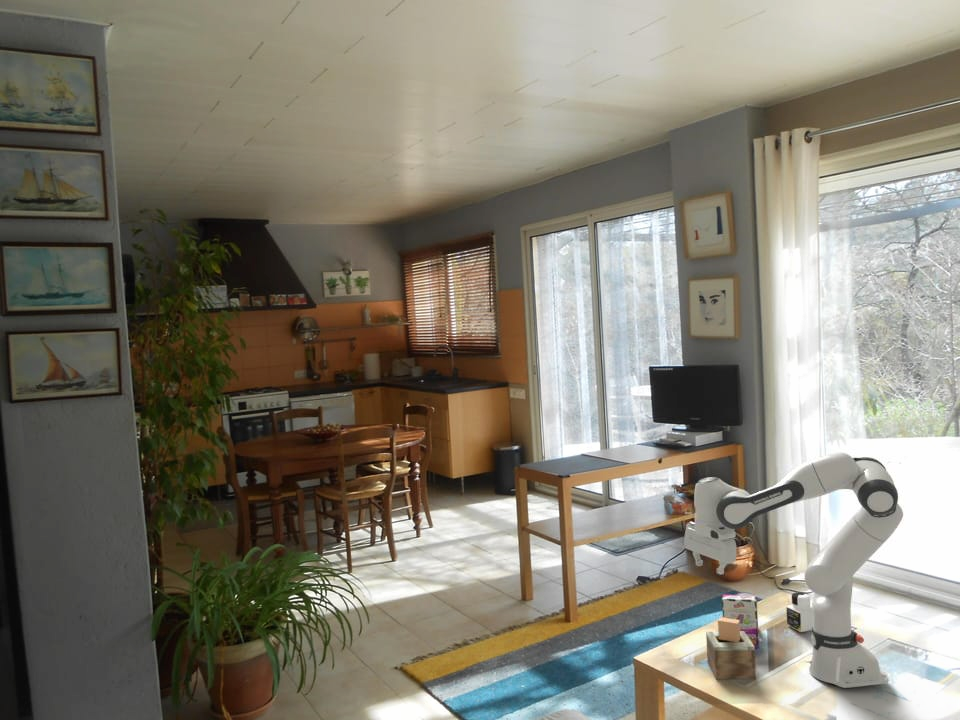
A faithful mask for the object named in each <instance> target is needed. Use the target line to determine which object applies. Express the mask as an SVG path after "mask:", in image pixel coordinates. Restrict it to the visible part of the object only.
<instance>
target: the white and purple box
mask: <svg viewBox="0 0 960 720" xmlns="http://www.w3.org/2000/svg"><path fill="white" fill-rule="evenodd" d="M736 595H745V596H756V594H754V593H753V592H748V591H743V592H742V591H741V592H738V593H736ZM756 605H757V606H758V601H757V599H756ZM758 615H759V614H758V613H757V622H758V623H759V617H758Z"/></svg>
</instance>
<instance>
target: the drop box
mask: <svg viewBox="0 0 960 720" xmlns="http://www.w3.org/2000/svg"><path fill="white" fill-rule="evenodd" d="M705 632H706V633H705V636H706V639H705V640H706V656H707V657H706V658H707V664H708V666H709V668H710V670H711V673H712V675H713V676H714V678H715V680H754V679H755V680H756V679H757V678H756V677H757V676H756V675H757V674H756V673H757V670H756V651H755V649H756V648H755V647H754V645H753V644H752V642H751V641H750V639H749V638H748V636H747V635H746V633H745V632H744V631H740V638H741V639H740V641H739V642H732V641H726V640H720V639H719V633H718V630H717V631H705Z"/></svg>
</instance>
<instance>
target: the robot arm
mask: <svg viewBox="0 0 960 720" xmlns="http://www.w3.org/2000/svg"><path fill="white" fill-rule="evenodd" d="M886 468H887V467H885V465H884V464H883V463H882V462H881V461H879V460H878V459H876V458H873V457H868V456H867V457H866V456H863V457H852V456H851V455H850V454H848V453H845V452H837V453H836V452H835V453H831V454H830V453H829V454H827V455H822V456H818V457H815V458H812V459H809V460H807V461H806V460H805V461H804V462H801V463H799V464H797V465H796V466H794V467H793V468H791V469H789V471H788V472H787V474H786V475H785V476H784V477H783V478H782V479H781V480H780V481H779V482H778V483H776V484H775V485H772V486H771V487H768V488H766V489H763V490H760V491H758V492H754V493H752V494H750V492H749V491H747V490H745V489H743V488H739V487H735V486H732V485H729V484H728V483H726V482H724V481H723V480H722V479H721V478H719V477H717V476H716V477H715V476H710V477H709V476H708V477H704V478H701V479H699V480H698V481H697V482H696V483H695V486H694V494H693V495H694V496H693V499H694V501H693V504H694V505H693V506H694V509H695V513H694V522H693V521H688V522H687V523H686V524H685V532H684V541H683V544H684V547H685V549H686V550H689V551H691V552H692V555H693V558H694V560H695V565H696V566H697V567H701V566H703V563H704V560H702V558H701V555H702V556H705V557H708V558H710V559H713V560H715V561H718V564H719V566H718V567H716V574H718V575H724V574H725V567H726V566H727V565H729V564H733V563H735V562H736V561H737V543H736V540H735V539H734V538H736V536H737V535H736V531H735V530H741V529H743V528H745V527H746V526H748V525H749V523H750V522H751V521H753V519H755V518H756V517H758V516H759V517H760V516H761V515H764V514H766V513H769V512H772V511H774V510H776V509H778V508H781V507H784V506H788V505H790V504H794V503H799V502H802V501H805V500H811V499H814V498H819V497H822V496H825V495H829V494H831V493H834V492H836V491H840V490H850V491H851V490H852V491H853V493H854V494H855V495H856V498H857V500H858V503H859V504H860V505H861V507H860V509H859V510H858V511H857V512H856V513H854V515H853V516H852V517H851V518H850V519H849V520H848V522H846V524H845V525H844V526H843V527H841V529H840V530H839V531H838V532H837V533H836V534H835V535H834V536H833V538H831V539H830V541H829V542H827V543H826V545H825V546H824V547H823V548H822V549H821V550H820V551H819V552H818V553H817V554H816V555H815V556H814V557H813V558H812V559H811V560H810V562H809V563H808V565H807V566H806V569H805V571H804V582H805V584H806V586H807V588H808V589H809V590H810V591H811V592H813V593H814V594H813V599H812V605H811V607H812V612H813V627H812V630H811V644H812V655H811V660H810V661H811V662H810V666H809V669H808V672H809V674H810V675H811V676H813V677H814V679H817V680H819V681H823V682H825V683H829V684H834V685H836V686H838V687H840V688H843V689H846V688H847V689H848V688H857V687H864V686H865V687H866V686H876V685H883V684H884V685H885V684H888V683H889V681H890V680H889V676H888V674H887V673H886V671H885V670H884V669H883V668H882V667H880V664H879V662H878V659H877V657H876V655H875V654H874V653H873V652H872V651H870V649H868V648H867V647H866V646H863V643H864V641H865V639H864V637H862V635H860V634H858V632H856V631H855V630H853V629H852V617H851V615H852V613H851V612H852V610H851V607H852V606H851V605H852V598H853V597H852V596H853V588H854V587H853V585H854V583H853V582H854V575H855V574H856V573H857V572H858V571H859V570H860V569H861V568H862V567H863V566H864V564H866V562H867V561H868V560H869V559H870V558H872V556H873V555H874V554H875V553H876V552H877V551H878V550H879V549H880V548H881V547H882V546H883V544H884V543H886V542H887V541H888V539H889V538H890V537H891V536H892V535H893V534H894V532H895V531H896V529H897V528H898V526H899V525H900V524H901V522H902V520H903V517H904V511H903V509H902V507H901V506H900V504H899V503H898V501H899V493H898V490H897V488H896V485H895V483H894V479H893V478H892V476H891V475H890V474H889V472H888V471H887V469H886Z"/></svg>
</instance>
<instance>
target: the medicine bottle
mask: <svg viewBox="0 0 960 720" xmlns="http://www.w3.org/2000/svg"><path fill="white" fill-rule="evenodd" d="M785 609H786V625H787V626H788V627H789V628H791V629H794V630H796V631H797V632H800V633H804V632H808V631H812V627H813V612H812V606H811V596H810V595H809V594H808V593H807V592H801V591H797V592H793V593H792V594H791V604H790V605H786V608H785Z"/></svg>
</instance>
